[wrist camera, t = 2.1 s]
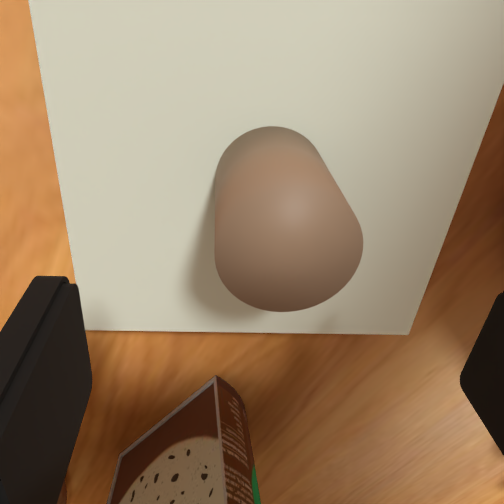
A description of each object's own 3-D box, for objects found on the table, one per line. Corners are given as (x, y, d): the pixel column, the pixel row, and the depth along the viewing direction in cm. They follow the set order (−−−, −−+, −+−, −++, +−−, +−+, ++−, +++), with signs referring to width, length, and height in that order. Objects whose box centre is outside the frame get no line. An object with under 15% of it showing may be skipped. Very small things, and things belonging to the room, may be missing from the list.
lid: (27, -101, 12) (-120, -164, 7) (527, -44, 13) (724, -60, 8) (90, 312, 20) (45, 430, 15) (399, 318, 21) (458, 427, 16)
